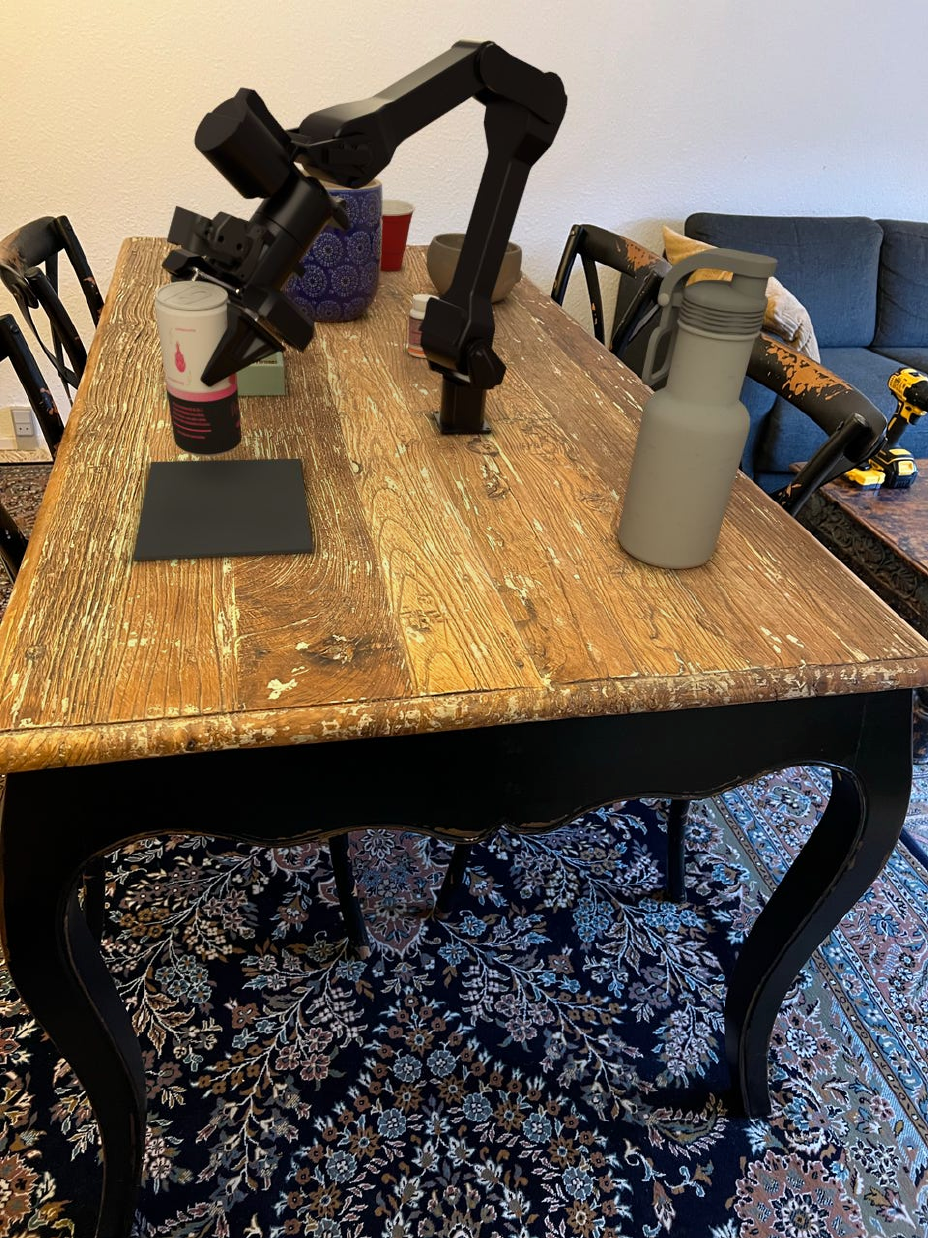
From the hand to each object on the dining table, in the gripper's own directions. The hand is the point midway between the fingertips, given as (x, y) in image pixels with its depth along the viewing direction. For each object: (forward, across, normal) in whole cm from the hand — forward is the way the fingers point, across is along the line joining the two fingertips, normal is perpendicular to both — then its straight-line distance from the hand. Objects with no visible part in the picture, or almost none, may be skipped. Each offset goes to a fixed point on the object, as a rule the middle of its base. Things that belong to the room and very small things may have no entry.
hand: (186, 372), depth 79 cm
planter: (-25, -49, +45) cm, 71 cm away
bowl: (-46, -44, +66) cm, 92 cm away
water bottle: (-13, +35, +33) cm, 49 cm away
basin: (-5, -30, +24) cm, 39 cm away
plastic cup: (-46, -70, +66) cm, 106 cm away
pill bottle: (-26, -24, +46) cm, 57 cm away
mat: (+9, +3, +10) cm, 14 cm away
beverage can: (+4, -1, +7) cm, 8 cm away
